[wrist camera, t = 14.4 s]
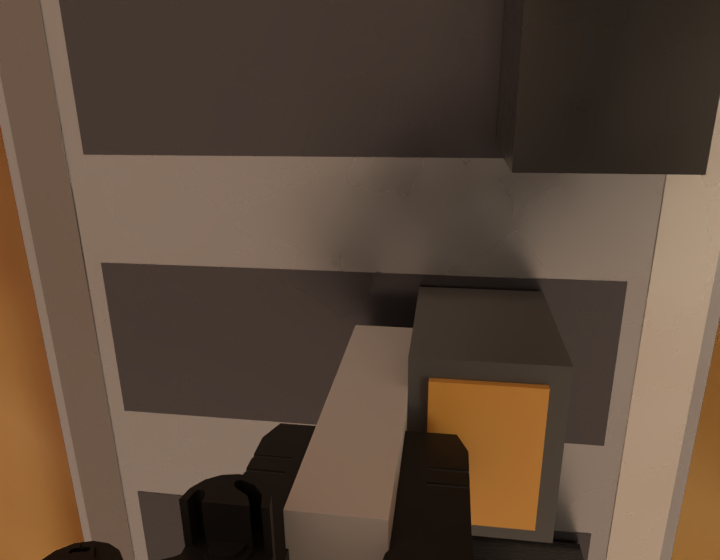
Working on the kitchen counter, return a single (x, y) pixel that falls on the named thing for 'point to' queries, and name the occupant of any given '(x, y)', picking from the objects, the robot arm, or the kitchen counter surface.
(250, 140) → the breaker panel
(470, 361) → the block
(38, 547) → the kitchen counter surface
